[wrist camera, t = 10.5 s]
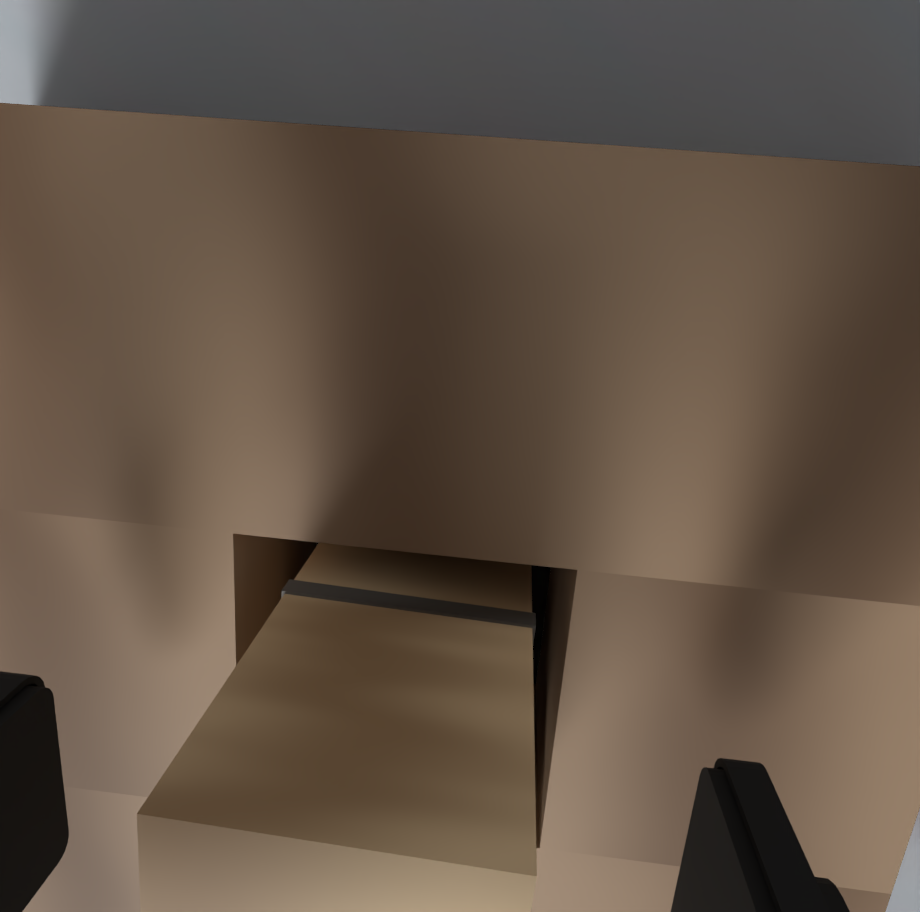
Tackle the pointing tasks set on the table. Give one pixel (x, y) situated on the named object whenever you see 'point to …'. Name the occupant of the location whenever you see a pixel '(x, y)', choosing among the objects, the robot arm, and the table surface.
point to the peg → (361, 750)
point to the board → (472, 457)
